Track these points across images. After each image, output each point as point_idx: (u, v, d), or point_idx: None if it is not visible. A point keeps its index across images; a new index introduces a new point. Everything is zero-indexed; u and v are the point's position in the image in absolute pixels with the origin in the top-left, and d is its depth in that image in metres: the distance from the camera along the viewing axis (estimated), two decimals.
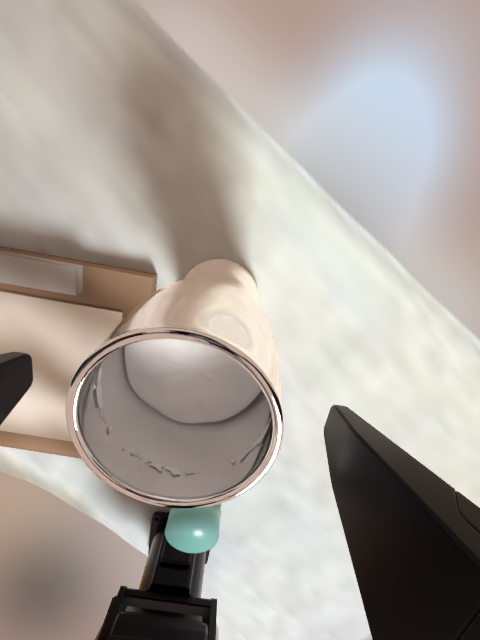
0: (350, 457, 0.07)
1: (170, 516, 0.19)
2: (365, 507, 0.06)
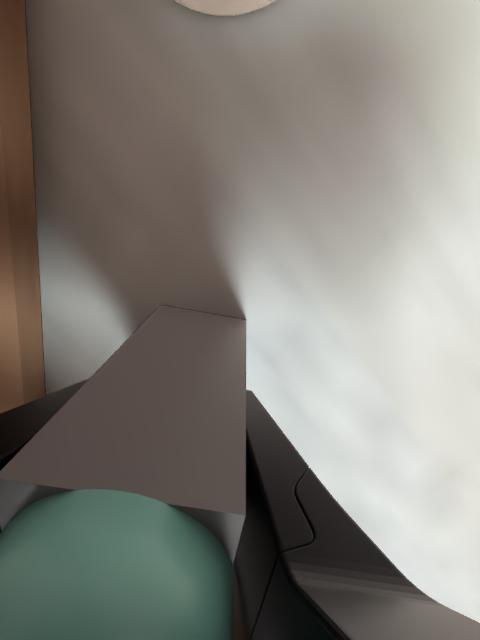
0: None
1: None
2: None
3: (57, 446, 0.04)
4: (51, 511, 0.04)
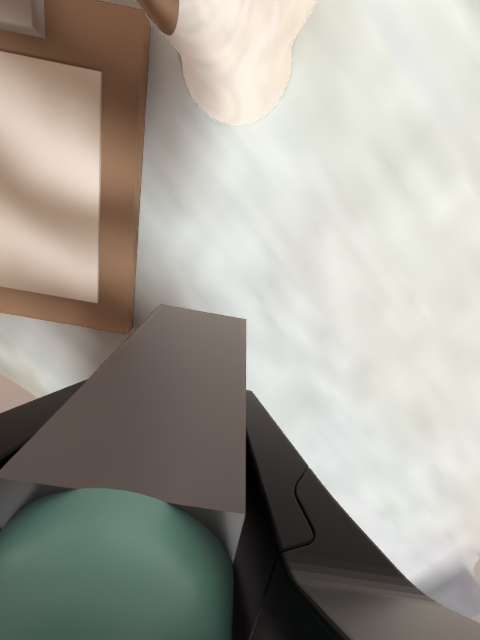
0: None
1: None
2: None
3: (57, 445, 0.04)
4: (51, 510, 0.04)
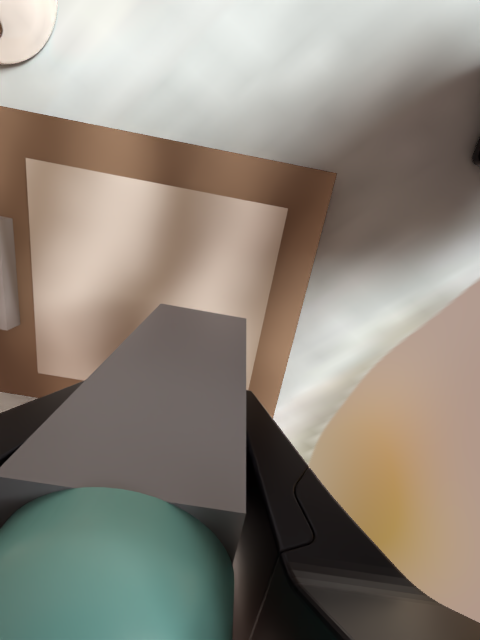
0: None
1: None
2: None
3: (56, 444, 0.04)
4: (49, 509, 0.03)
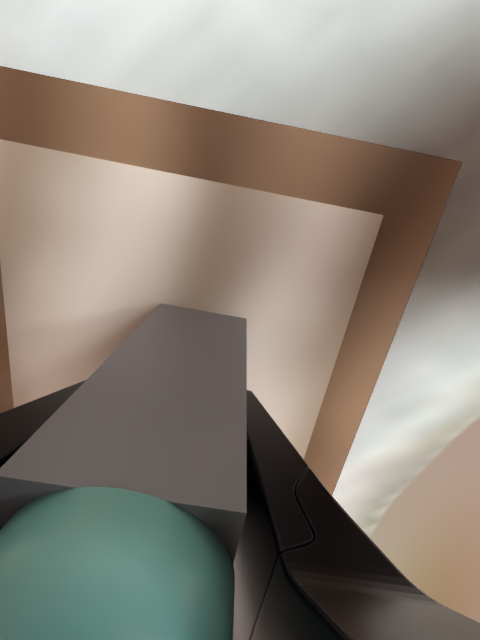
0: None
1: None
2: None
3: (57, 444, 0.04)
4: (51, 508, 0.03)
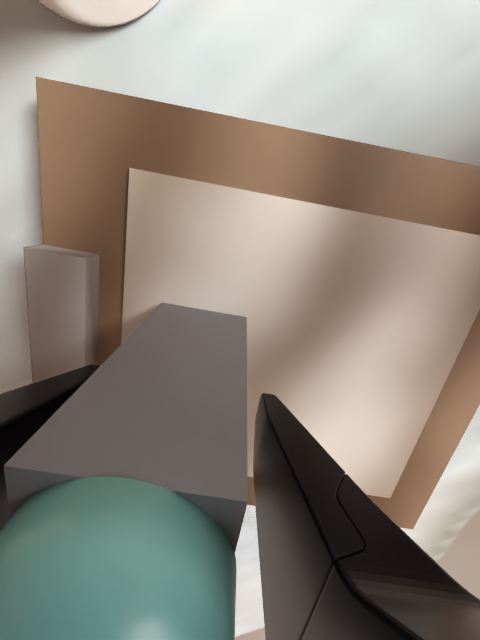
0: (264, 443, 0.07)
1: None
2: (268, 492, 0.06)
3: (64, 436, 0.04)
4: (59, 497, 0.04)
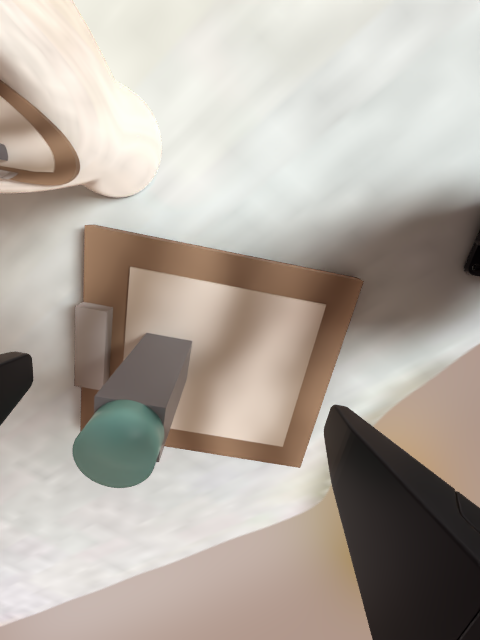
0: (350, 457, 0.07)
1: None
2: (365, 507, 0.06)
3: (109, 390, 0.14)
4: (111, 404, 0.13)
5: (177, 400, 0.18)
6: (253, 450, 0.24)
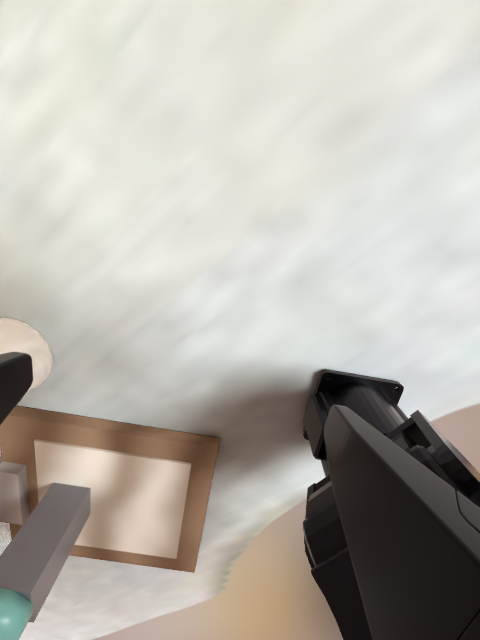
0: (350, 457, 0.07)
1: None
2: (365, 507, 0.06)
3: None
4: None
5: (67, 550, 0.23)
6: (153, 560, 0.29)
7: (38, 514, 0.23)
